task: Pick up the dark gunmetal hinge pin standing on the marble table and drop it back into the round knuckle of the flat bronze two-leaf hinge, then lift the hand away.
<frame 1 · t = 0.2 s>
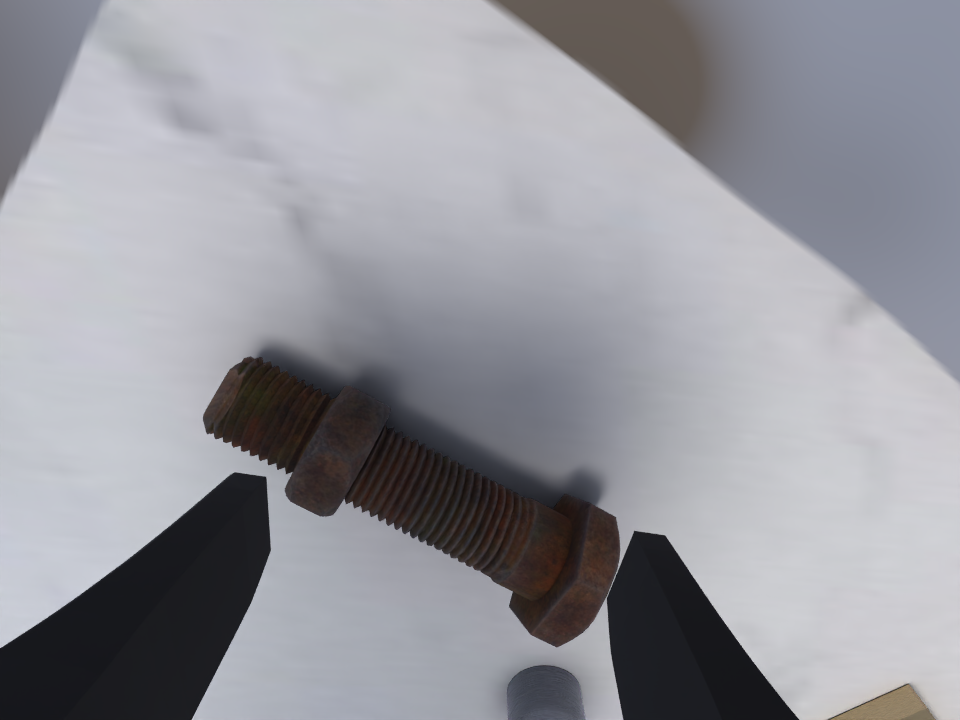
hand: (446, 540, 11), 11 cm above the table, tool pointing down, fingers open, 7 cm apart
hinge pin: (543, 692, 27), on the table
bolt: (421, 449, 23), on the table
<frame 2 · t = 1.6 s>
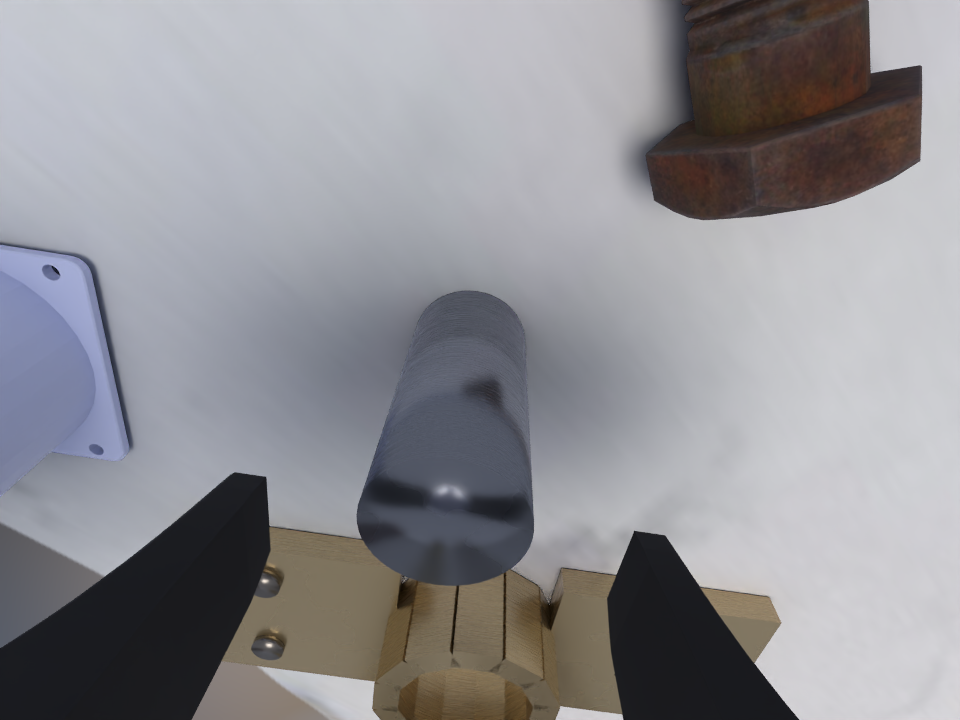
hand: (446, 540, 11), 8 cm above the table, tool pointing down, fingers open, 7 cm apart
hinge pin: (469, 341, 18), on the table
hinge: (470, 616, 25), on the table
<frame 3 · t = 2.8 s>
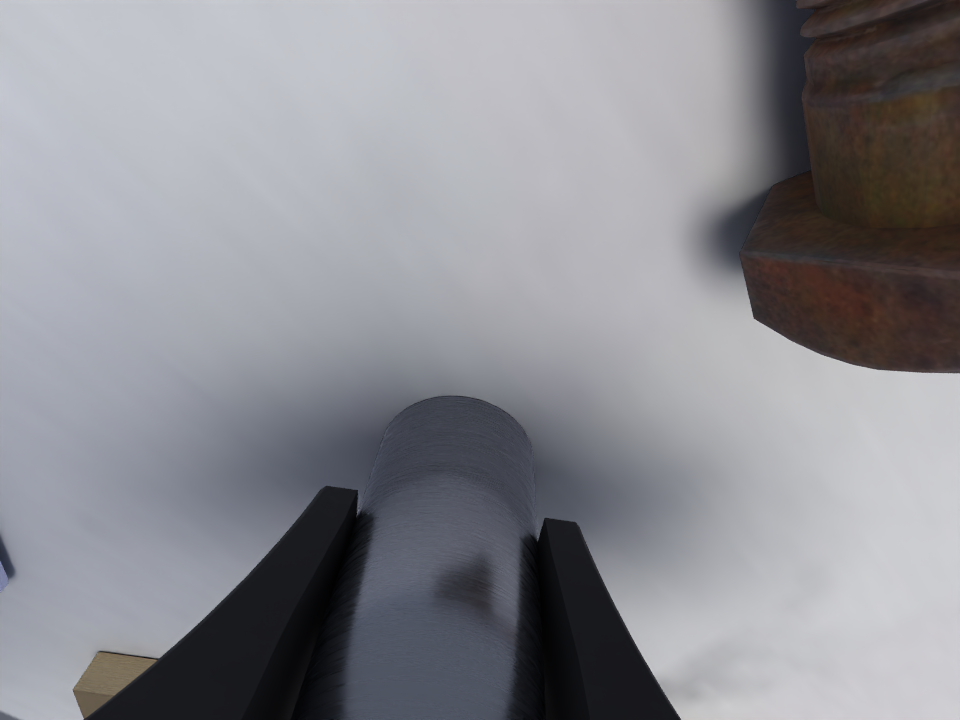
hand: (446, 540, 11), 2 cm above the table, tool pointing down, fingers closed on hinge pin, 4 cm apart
hinge pin: (456, 459, 13), on the table, touching gripper
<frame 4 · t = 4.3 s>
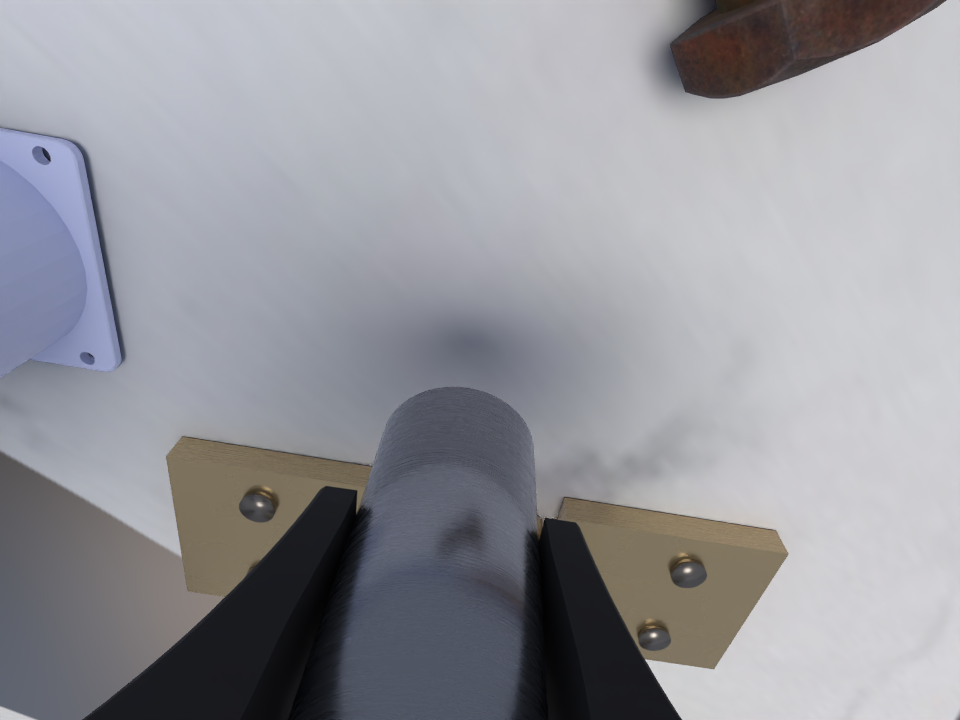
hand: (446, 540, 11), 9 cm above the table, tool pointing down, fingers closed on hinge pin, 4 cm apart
hinge pin: (457, 451, 13), point 7 cm above the table, touching gripper
hinge: (470, 551, 25), on the table
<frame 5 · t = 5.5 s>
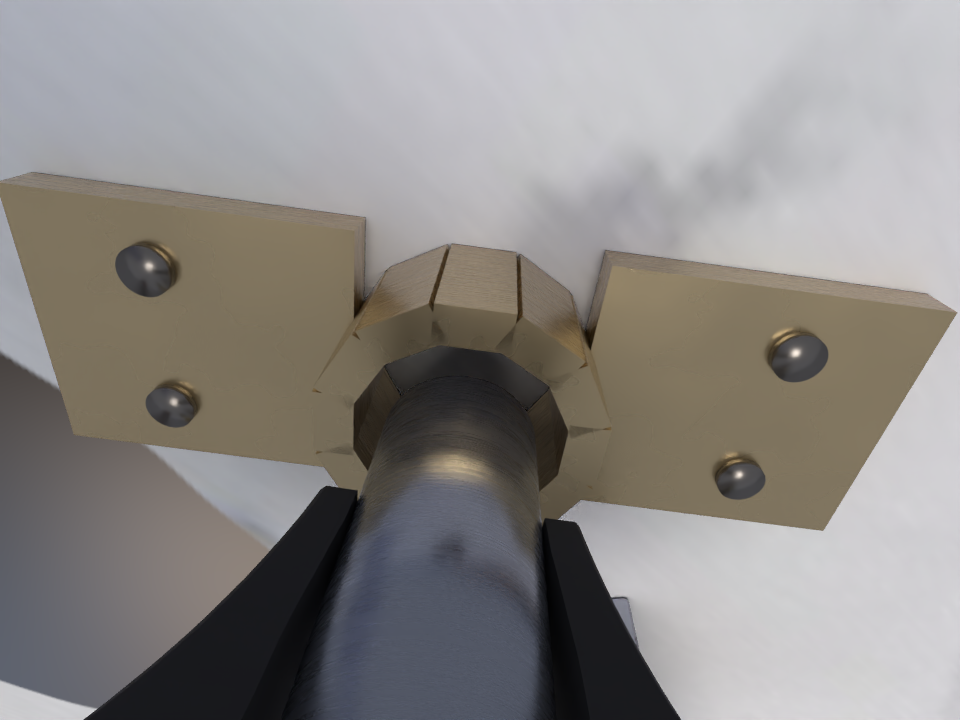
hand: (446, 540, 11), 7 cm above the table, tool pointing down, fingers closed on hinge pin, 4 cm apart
hinge pin: (459, 442, 13), point 4 cm above the table, touching gripper
hinge: (469, 359, 17), on the table
coffee box: (564, 660, 25), on the table
when the fingers open (5 cm above the table, at t = 6.2 s): hinge pin drops 3 cm, resting in hinge.
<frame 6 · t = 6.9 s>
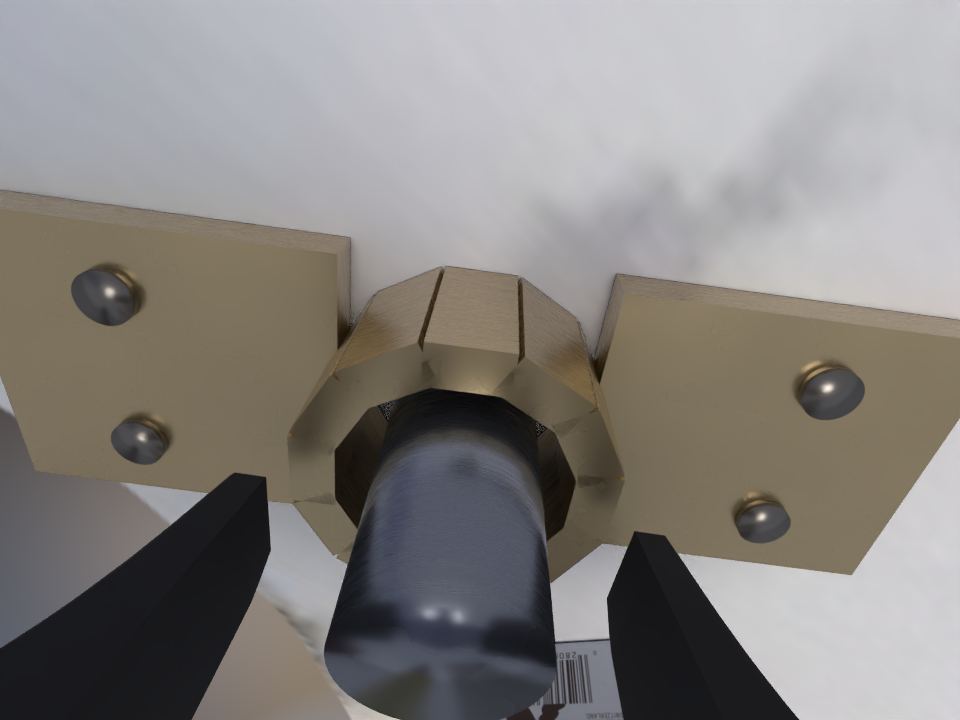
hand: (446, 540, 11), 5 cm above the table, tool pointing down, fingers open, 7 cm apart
hinge pin: (467, 382, 15), resting in hinge
hinge: (466, 390, 16), on the table
coffee box: (568, 700, 23), on the table
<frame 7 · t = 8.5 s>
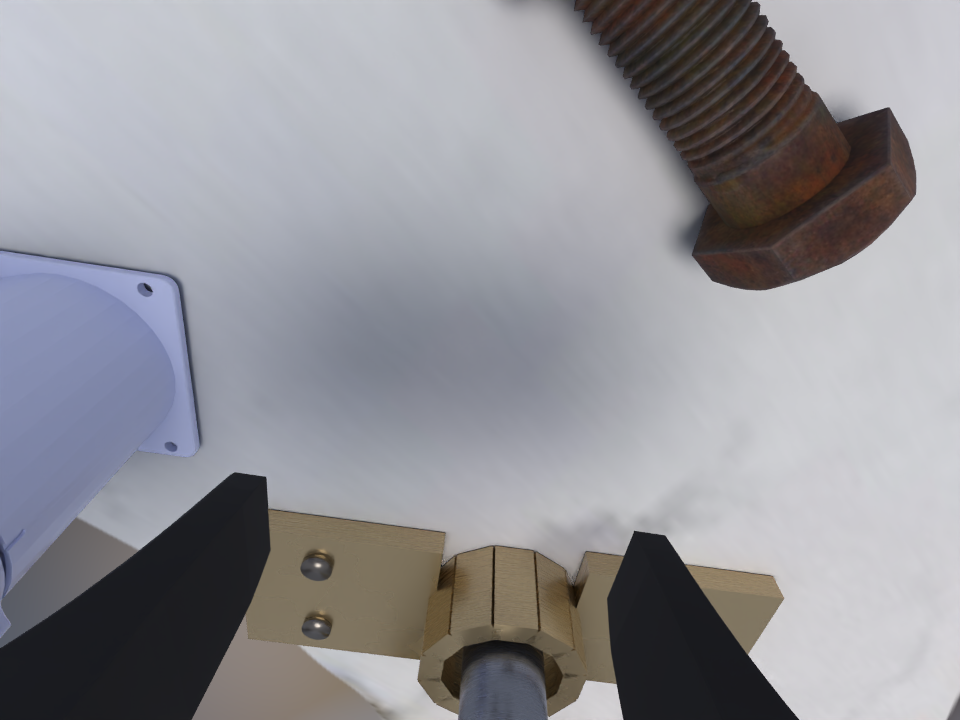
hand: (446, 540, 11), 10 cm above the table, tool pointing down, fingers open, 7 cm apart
hinge pin: (502, 593, 27), resting in hinge
bolt: (639, 0, 16), on the table
hinge: (501, 597, 28), on the table
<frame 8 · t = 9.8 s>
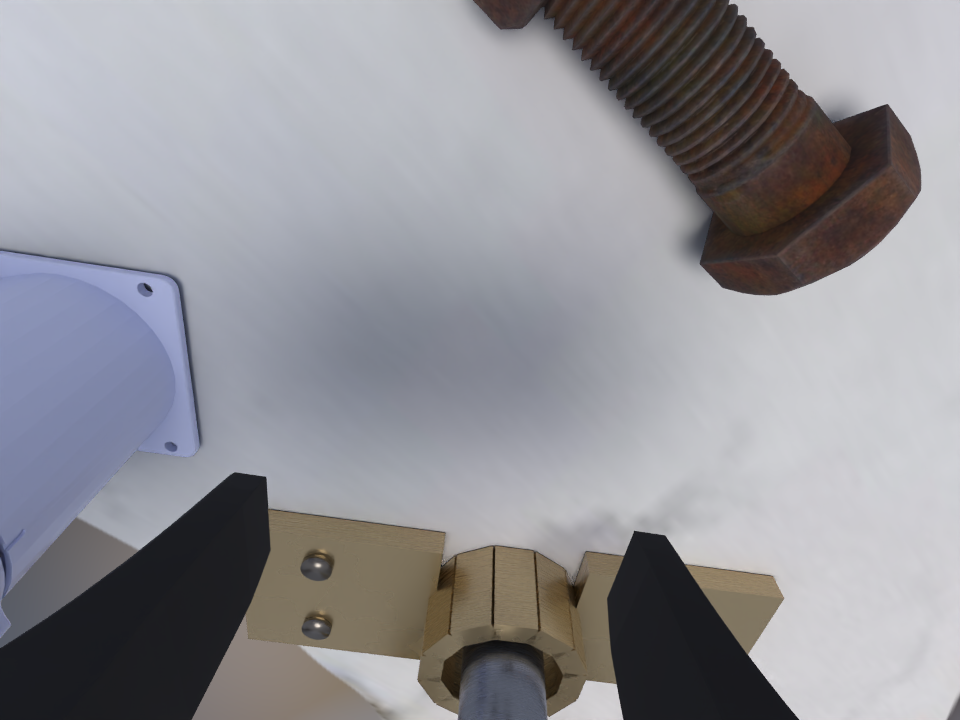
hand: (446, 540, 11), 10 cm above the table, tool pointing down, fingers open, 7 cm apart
hinge pin: (502, 593, 27), resting in hinge
bolt: (627, 19, 16), on the table
hinge: (501, 597, 28), on the table
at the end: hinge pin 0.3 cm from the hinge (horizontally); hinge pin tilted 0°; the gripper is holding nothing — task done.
